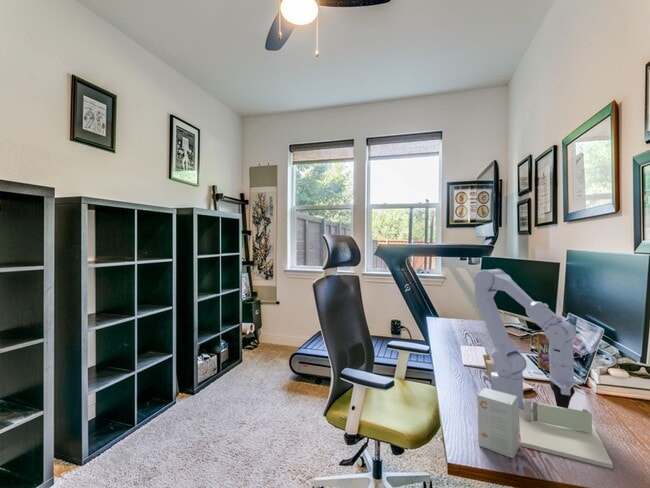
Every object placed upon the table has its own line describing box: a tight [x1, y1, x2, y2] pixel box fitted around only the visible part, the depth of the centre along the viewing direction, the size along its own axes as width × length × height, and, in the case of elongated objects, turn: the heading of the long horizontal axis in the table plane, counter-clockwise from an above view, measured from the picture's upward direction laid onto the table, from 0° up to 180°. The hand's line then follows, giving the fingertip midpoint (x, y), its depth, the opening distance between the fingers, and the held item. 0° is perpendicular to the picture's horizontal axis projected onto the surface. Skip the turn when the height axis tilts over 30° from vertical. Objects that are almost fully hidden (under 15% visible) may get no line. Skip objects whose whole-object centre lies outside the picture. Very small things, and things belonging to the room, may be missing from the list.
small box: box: [477, 387, 520, 459], centre depth 82 cm, size 8×6×13 cm
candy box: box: [536, 331, 550, 371], centre depth 132 cm, size 9×4×15 cm, turn 17°
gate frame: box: [518, 399, 614, 470], centre depth 87 cm, size 18×20×6 cm
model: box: [482, 353, 496, 382], centre depth 128 cm, size 3×11×8 cm, turn 168°
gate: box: [532, 401, 593, 433], centre depth 89 cm, size 13×1×5 cm, turn 61°
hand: (562, 410), depth 94 cm, fingers closed
